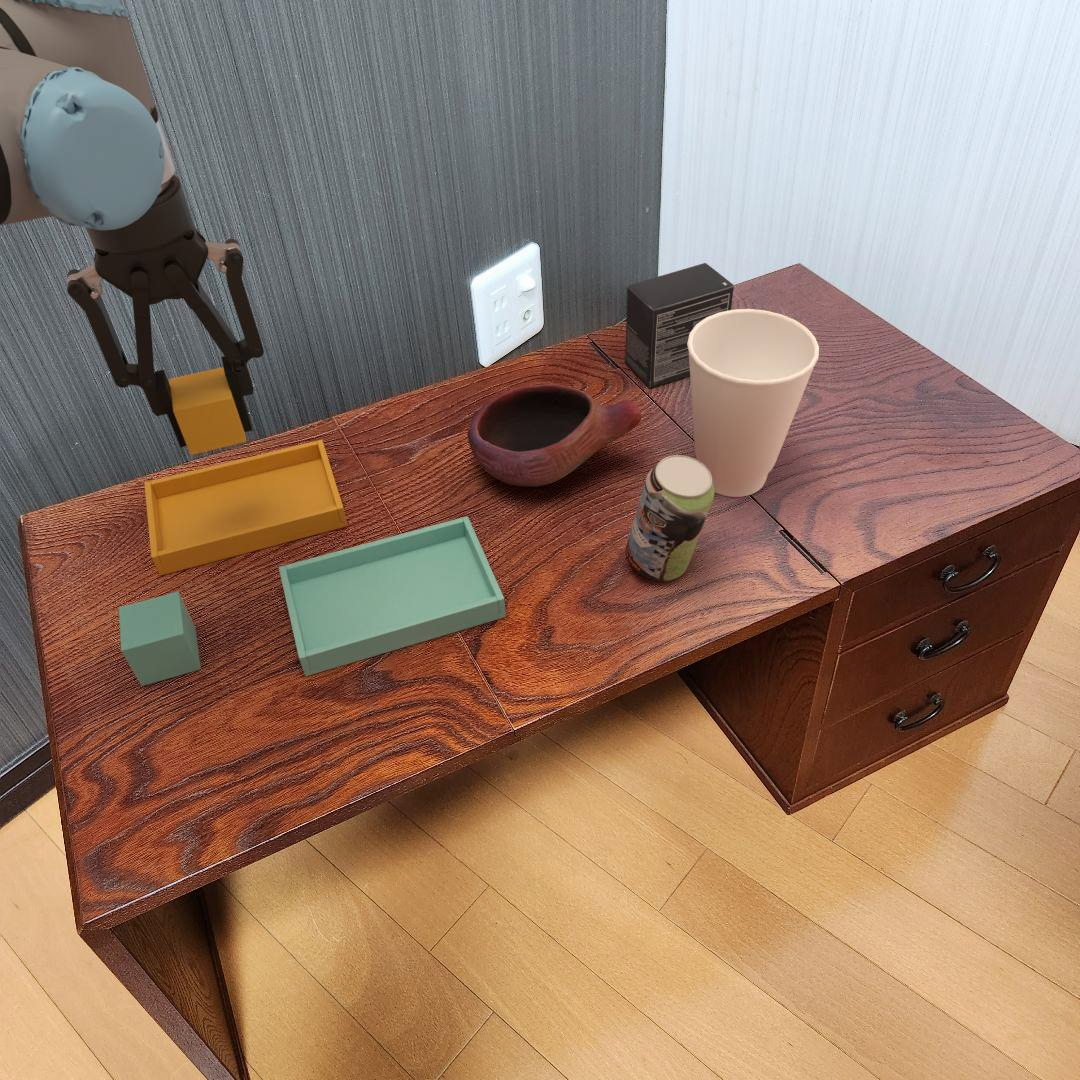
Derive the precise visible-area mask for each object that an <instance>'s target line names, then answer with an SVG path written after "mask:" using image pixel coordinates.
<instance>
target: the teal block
mask: <svg viewBox="0 0 1080 1080" xmlns="http://www.w3.org/2000/svg"><path fill="white" fill-rule="evenodd" d="M118 618H119V636H120V637H119V638H120V652H121V653H122V655H123V657H124V658H125V660H126V662H127V664H128V666H129V667H130V669H131V670H132V672H133V674H134V675H135V677H136V679H137V681H138V683H139V684H140V686H141V687H144V686H148V685H151V684H155V683H157V682H161V681H165V680H168V679H172V678H175V677H178V676H179V677H180V676H183V675H186V674H189V673H192V672H197V671H199V670H202V667H201V660H200V659H201V658H200V653H199V652H200V651H199V644H198V637H197V629H196V626H195V623H194V621H193V619H192V617H191V615H190V613H189V611H188V609H187V607H186V604H185V602H184V600H183V597H182V595H181V594H180V592H179V591H174V592H170V593H167V594H163V595H159V596H156V597H152V598H148V599H145V600H141V601H137V602H134V603H133V602H132V603H131V604H130V603H129V604H127V605H122V606H119V607H118Z"/></svg>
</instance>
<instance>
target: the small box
mask: <svg viewBox="0 0 1080 1080" xmlns="http://www.w3.org/2000/svg"><path fill="white" fill-rule="evenodd" d="M734 290H735V284H734V283H732V282H731V281H729V280H728V279H727V278H726V277H725V276H723V275H722V274H721V273H720V272H718V271H717V270H716V269H714V268H713V267H712V266H710V265H709V264H708V263H706V262H703V263H700V264H696V265H693V266H690V267H686V268H683V269H679V270H676V271H673V272H668V273H666V274H662V275H658V276H655V277H652V278H649V279H645V280H641V281H638V282H635V283H631V284H628V285H627V286H626V317H625V318H626V321H625V323H626V326H625V349H624V350H625V351H624V352H625V354H624V363H625V364H626V366H628V367H629V369H630V370H631V371H632V372H633V373H634V374H635V375H636V376H637V377H638V378H639V379H640V380H641V381H642V382H643V384H644V385H645V386H646V387H647V388H649V389H653V388H656V387H659V386H662V385H665V384H666V385H667V384H668V383H671V382H674V381H677V380H680V379H681V380H682V379H684V378H687V377H690V364H689V350H688V346H687V342H688V338H689V334H690V332H691V331H692V330H693V328H694V327H695V326H696V324H698V323H699V322H701V321H702V320H703V319H705V318H706V317H709V316H711V315H714V314H716V313H719V312H724V311H729V310H732V305H733V297H734Z"/></svg>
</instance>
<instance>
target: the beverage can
mask: <svg viewBox="0 0 1080 1080" xmlns="http://www.w3.org/2000/svg"><path fill="white" fill-rule="evenodd" d="M714 498H715V492H714V486H713V483H712V476H711V473H710V472H709V470H708V469H707V467H706V466H705V465H703V464H702V463H701V462H699V461H698V460H697V459H696V458H693V457H690V456H687V455H678V454H675V455H670V456H669V455H668V456H666V457H664V458H662V459H661V460H660V461H658V463H657V464H656V465H654V466H653V467H652V468H651V469H650V470H649V471H648V473H647V475H646V477H645V481H644V483H643V487H642V491H641V494H640V497H639V501H638V505H637V508H636V512H635V515H634V517H633V521H632V526H631V529H630V532H629V536H628V539H627V543H626V546H625V556H626V560H627V562H628V564H629V565H630V566H631V568H632V569H633V570H634V571H635V572H636V573H638V574H639V575H640V576H642V577H644V578H647V579H649V580H654V581H660V582H666V581H667V582H668V581H672V580H675V579H678V578H679V577H681V576H682V575H683V574H685V572H687V569H688V568H689V565H690V562H691V560H692V557H693V554H694V552H695V549H696V546H697V543H698V540H699V538H700V536H701V533H702V530H703V528H704V526H705V522H706V519H707V517H708V515H709V512H710V509H711V507H712V504H713V501H714Z"/></svg>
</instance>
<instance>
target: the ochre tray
mask: <svg viewBox="0 0 1080 1080" xmlns="http://www.w3.org/2000/svg"><path fill="white" fill-rule="evenodd" d="M143 483H144V494H145V495H144V496H145V504H146V517H147V527H148V536H149V537H148V538H149V547H150V549H149V550H150V558H151V560H152V563H153V564H154V566H155V568H156V570H157V572H158V574H159V576H164V575H169V574H172V573H176V572H180V571H183V570H187V569H191V568H195V567H199V566H202V565H206V564H207V565H208V564H210V563H214V562H219V561H221V560H225V559H229V558H232V557H237V556H241V555H244V554H248V553H252V552H256V551H259V550H263V549H266V548H270V547H274V546H279V545H282V544H286V543H289V542H293V541H298V540H300V539H304V538H308V537H311V536H317V535H320V534H323V533H327V532H330V531H334V530H338V529H343V528H346V527H348V525H349V524H348V521H347V520H348V519H347V516H346V512H345V508H344V505H343V502H342V498H341V495H340V493H339V488H338V486H337V483H336V480H335V476H334V473H333V469H332V466H331V463H330V459H329V457H328V453H327V451H326V447H325V444H324V441H323V439H318V440H314V441H310V442H305V443H301V444H297V445H294V446H293V445H292V446H290V447H285V448H280V449H277V450H276V449H275V450H272V451H268V452H265V453H261V454H256V455H252V456H248V457H243V458H240V459H235V460H231V461H228V462H227V461H226V462H224V463H218V464H215V465H210V466H207V467H202V468H198V469H195V470H194V469H193V470H191V471H187V472H181V473H178V474H173V475H170V476H164V477H161V478H157V479H152V480H150V481H149V480H148V481H145V482H143Z"/></svg>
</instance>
